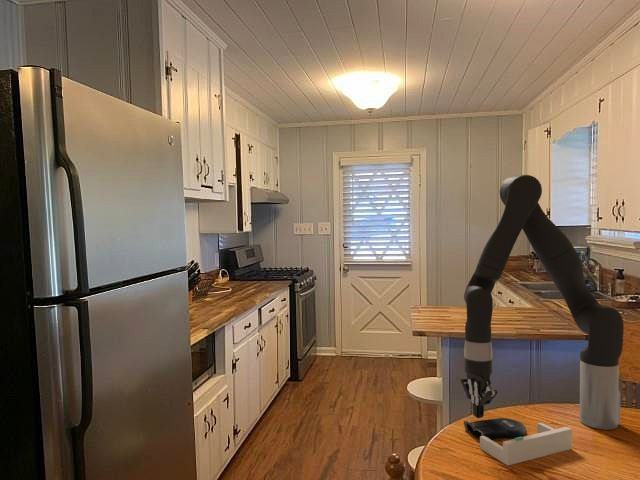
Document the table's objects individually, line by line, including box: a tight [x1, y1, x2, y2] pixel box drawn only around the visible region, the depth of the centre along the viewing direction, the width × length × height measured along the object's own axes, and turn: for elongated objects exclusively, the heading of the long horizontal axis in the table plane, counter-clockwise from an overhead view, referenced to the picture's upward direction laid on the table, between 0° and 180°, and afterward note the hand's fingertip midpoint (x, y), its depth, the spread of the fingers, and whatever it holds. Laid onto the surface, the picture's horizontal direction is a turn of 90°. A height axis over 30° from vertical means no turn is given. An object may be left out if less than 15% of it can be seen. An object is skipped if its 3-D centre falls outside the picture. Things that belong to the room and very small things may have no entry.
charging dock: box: [479, 422, 573, 466], centre depth 118 cm, size 20×9×6 cm, turn 112°
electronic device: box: [463, 417, 528, 441], centre depth 127 cm, size 9×6×15 cm
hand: (478, 416), depth 134 cm, fingers closed
